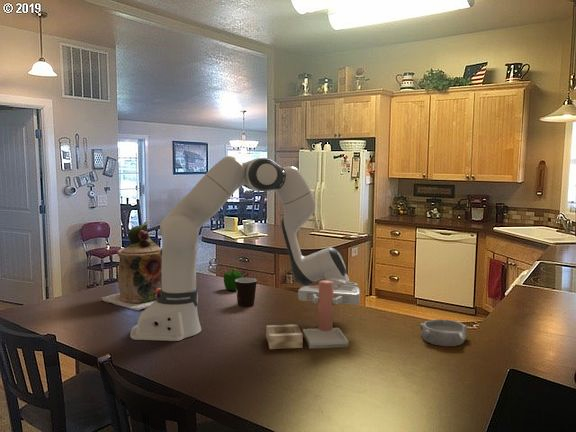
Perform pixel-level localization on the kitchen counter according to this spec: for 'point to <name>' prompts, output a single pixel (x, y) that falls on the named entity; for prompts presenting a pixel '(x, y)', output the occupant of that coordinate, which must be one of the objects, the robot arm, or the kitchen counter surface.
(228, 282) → the bell pepper
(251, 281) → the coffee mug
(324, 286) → the dowel
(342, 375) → the kitchen counter surface
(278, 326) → the socket block
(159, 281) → the cookie jar
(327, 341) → the tray
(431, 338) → the dish
